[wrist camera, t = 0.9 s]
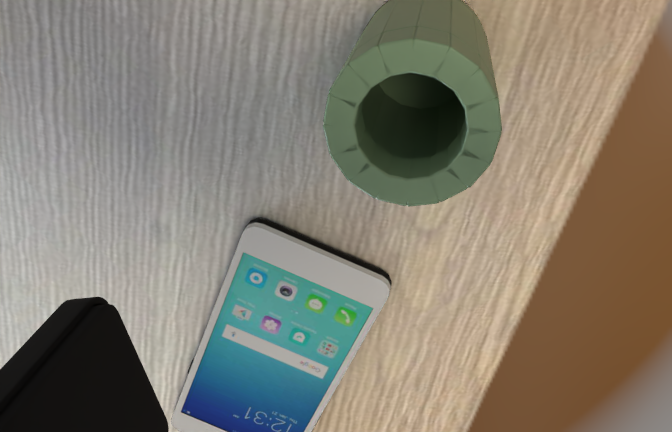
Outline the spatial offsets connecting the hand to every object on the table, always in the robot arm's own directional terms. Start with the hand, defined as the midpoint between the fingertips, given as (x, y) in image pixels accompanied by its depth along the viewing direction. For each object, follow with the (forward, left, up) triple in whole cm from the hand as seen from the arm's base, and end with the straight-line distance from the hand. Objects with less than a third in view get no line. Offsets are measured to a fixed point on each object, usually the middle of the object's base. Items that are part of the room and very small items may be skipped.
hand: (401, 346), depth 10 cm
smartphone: (+14, -10, -17) cm, 24 cm away
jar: (0, 0, -17) cm, 17 cm away
